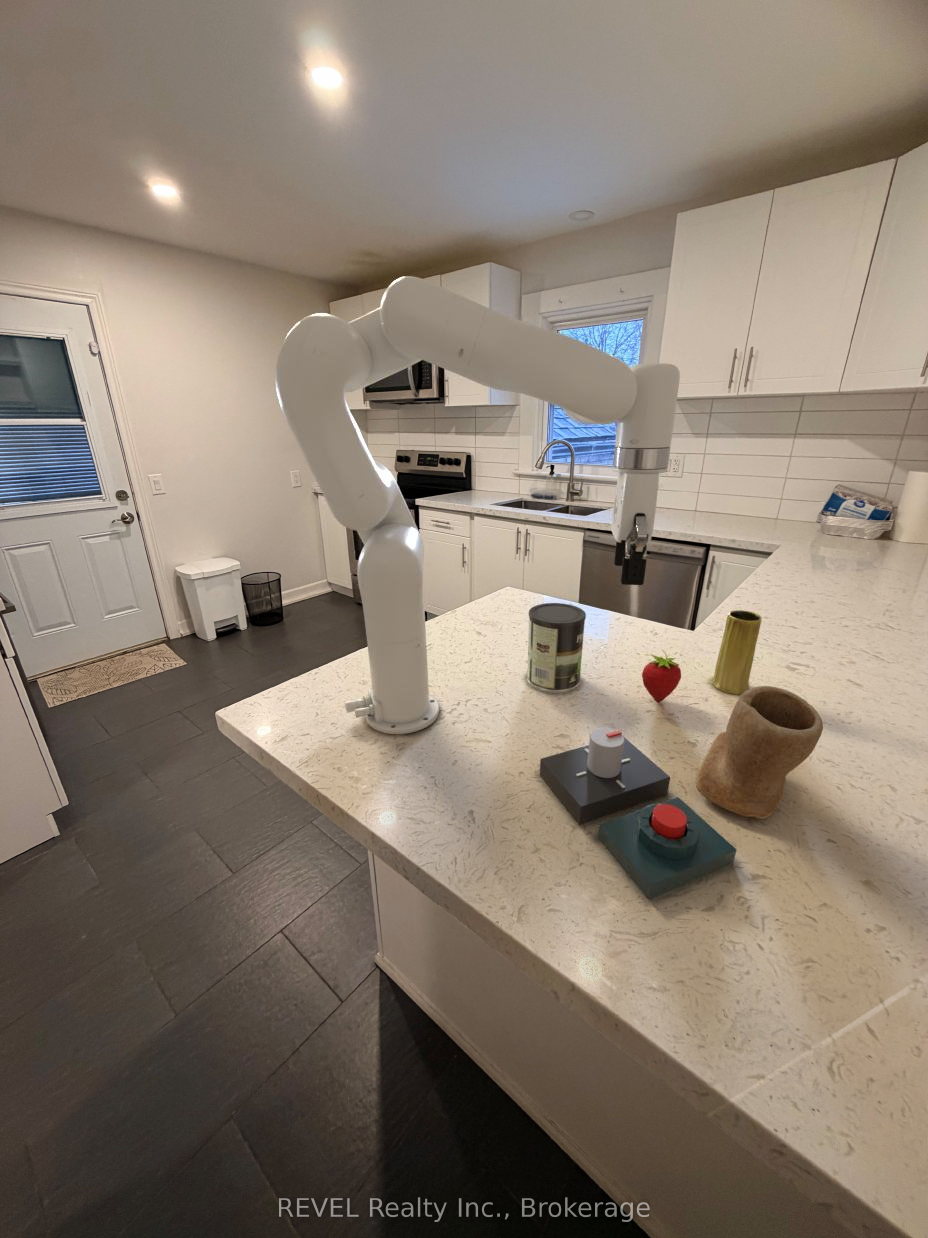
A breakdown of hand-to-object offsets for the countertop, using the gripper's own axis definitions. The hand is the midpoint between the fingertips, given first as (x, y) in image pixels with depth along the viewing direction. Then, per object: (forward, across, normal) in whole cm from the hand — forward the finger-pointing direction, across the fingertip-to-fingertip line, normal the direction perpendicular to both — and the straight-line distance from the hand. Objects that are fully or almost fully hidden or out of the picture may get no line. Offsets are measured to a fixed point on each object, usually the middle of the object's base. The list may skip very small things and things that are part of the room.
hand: (627, 574), depth 78 cm
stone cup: (+24, +18, +16) cm, 34 cm away
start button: (+20, +31, +3) cm, 37 cm away
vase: (+24, -10, +22) cm, 34 cm away
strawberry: (+24, -3, +8) cm, 26 cm away
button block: (+24, +31, +3) cm, 40 cm away
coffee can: (+24, -8, -10) cm, 28 cm away
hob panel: (+24, +21, -3) cm, 32 cm away
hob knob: (+21, +21, -3) cm, 30 cm away
